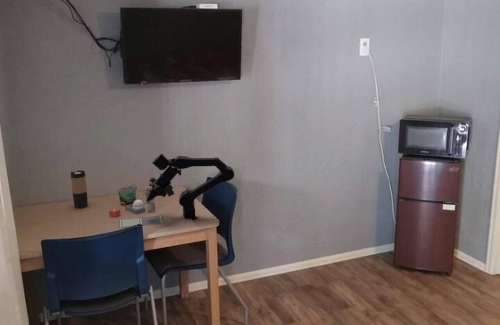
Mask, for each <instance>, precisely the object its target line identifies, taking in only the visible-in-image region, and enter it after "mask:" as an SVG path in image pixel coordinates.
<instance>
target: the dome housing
mask: <svg viewBox="0 0 500 325" xmlns="http://www.w3.org/2000/svg"><path fill="white" fill-rule="evenodd" d="M144 205H145V202H144ZM124 206H125V207H124V208H125V211H126V212H127V211H128V212H129V213H132V214H135V215H138V214H141V213H146V212H145V207H143V208H139V209H135V208H133V204H131V205H124Z"/></svg>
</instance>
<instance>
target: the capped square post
mask: <svg viewBox="0 0 500 325" xmlns="http://www.w3.org/2000/svg"><path fill="white" fill-rule="evenodd" d="M151 189H152V186H149V185H146V186H145V187H144V189H143V198H144V201H143V202H144V203H145V212H144V213H146V214H155V213H156V200H155V198H156V197H155V198H153V199H152V200H150V201H149V202H148V201H147V198H148V196H149V194H150V192H151Z"/></svg>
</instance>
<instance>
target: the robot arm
mask: <svg viewBox="0 0 500 325" xmlns="http://www.w3.org/2000/svg"><path fill="white" fill-rule="evenodd" d="M151 164H153V165H154V166H155V167H156V168H157V169H158V170H159V171H163V172H162V173H160V174H159V177H158V178H155V177H151V178H150V179H149V180H148V181H149V185H148V186H152V189H151V192H150V194H149V196H148V198H147V201H148V202H149V201H150V200H152V199H153V198H156V197H163V198H166V196H168V197H171V196H173V195H175V191H174V190H173V189H174V187H173V186H172V180H173V179H174V178H175V177H176V176H177V174H178V175H179V176H180V177H181V176H182V170H184V169H189V168H191V167H216V168H217V170H218V171H219V172H218V173H217V174H216V175H215V176H213V177H211V178H210V179H209V180H207V181H205V182H203V183H202V184H200V185H198V186H197V187H195V188H193V189H189V188H187V189H185V190H183V191H181V193H180V194H179V198H178V199H179V200H178V203H179V205H180V206H181V207H182V216H183V218H184V219H187V220H193V221H194V220H197V219H198V216H196V206H195V199H197V198H198V197H199V196H201V195H203V194H205V193H206V192H209V191H210V190H211V189H213V188H214V187H216V186H218V185H219V184H221V183H222V184H223V183H226V182H228V181H229V182H230V181H232V180H233V179H234V178H235V171H234V169H233V167H231V166H228V165H227V164H226V163H225V162H224V161H222V160H221V159H220V158H219V157H189V156H186V155H177V156H176V157H175V158H170V159H168V158H167V157H166V156H165V155H164V154H163V153H160V154H159V155H158V156H156V157H155V158H154V160H153V161H152V162H151Z"/></svg>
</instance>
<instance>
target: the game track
mask: <svg viewBox="0 0 500 325" xmlns="http://www.w3.org/2000/svg"><path fill="white" fill-rule="evenodd" d="M137 224H142V225H143V226H142V227H145V226H153V225H162V224H165V222H164V219H163V216H162V215H152V216H151V215H150V216H144V217H142V216H141V217H132V218H123V219H118V229H127V228H131V227H130V226H134V225H137Z"/></svg>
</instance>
